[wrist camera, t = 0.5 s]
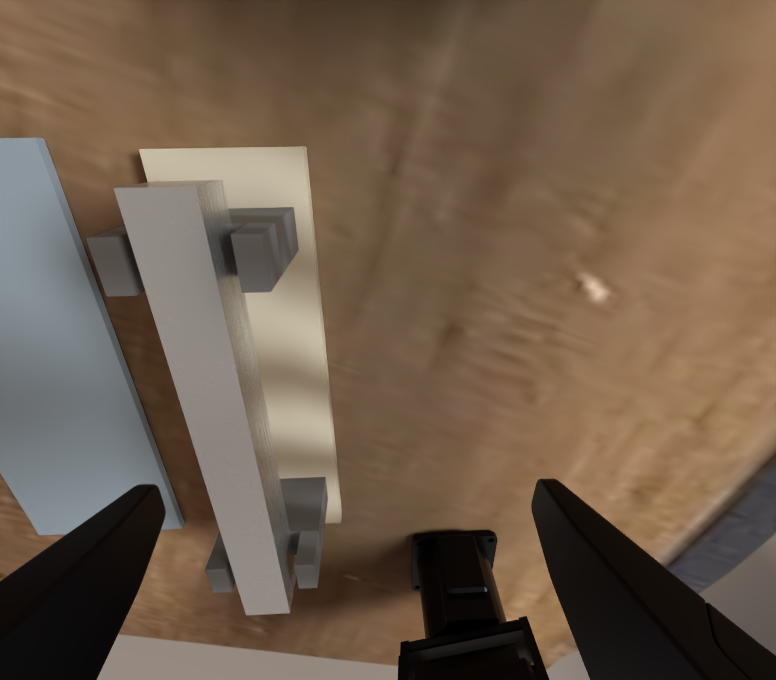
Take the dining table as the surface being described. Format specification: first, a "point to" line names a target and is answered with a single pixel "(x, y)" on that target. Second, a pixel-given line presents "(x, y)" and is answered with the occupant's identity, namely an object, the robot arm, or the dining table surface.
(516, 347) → the dining table surface
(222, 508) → the rail
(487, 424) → the dining table surface
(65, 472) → the mat
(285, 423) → the rail stand
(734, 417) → the dining table surface
